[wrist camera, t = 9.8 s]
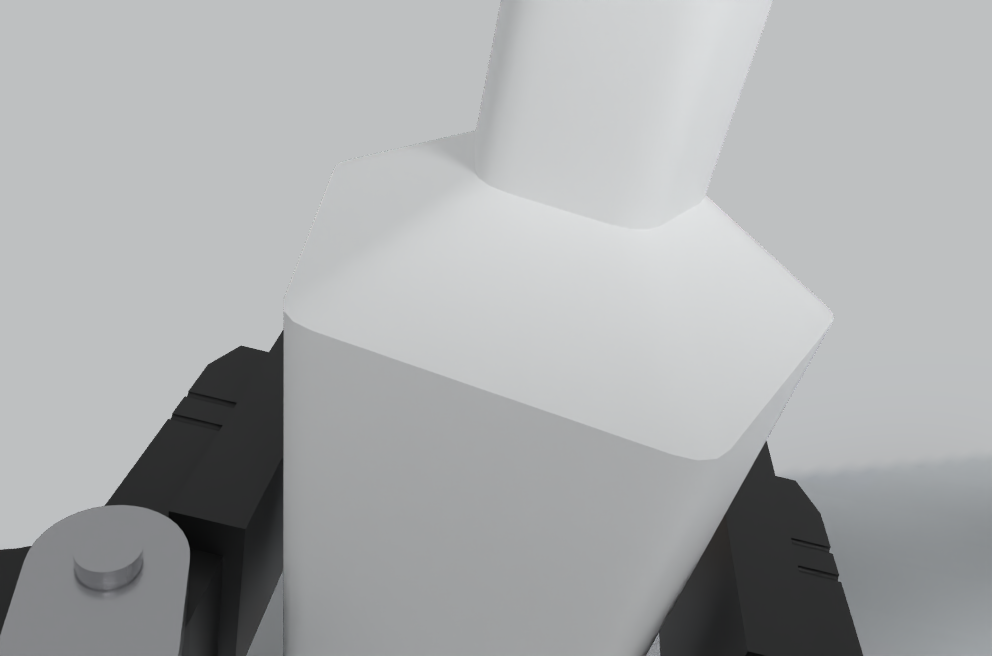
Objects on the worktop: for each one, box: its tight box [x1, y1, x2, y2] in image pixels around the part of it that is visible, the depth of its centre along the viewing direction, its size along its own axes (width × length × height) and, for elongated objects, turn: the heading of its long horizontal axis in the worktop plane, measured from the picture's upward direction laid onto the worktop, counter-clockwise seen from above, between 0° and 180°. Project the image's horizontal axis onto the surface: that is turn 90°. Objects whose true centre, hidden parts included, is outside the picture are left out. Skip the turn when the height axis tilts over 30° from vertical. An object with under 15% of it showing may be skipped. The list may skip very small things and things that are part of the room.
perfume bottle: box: [283, 0, 834, 656], centre depth 9 cm, size 5×4×15 cm
